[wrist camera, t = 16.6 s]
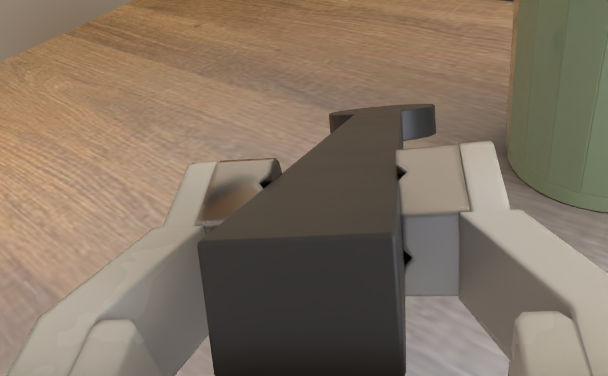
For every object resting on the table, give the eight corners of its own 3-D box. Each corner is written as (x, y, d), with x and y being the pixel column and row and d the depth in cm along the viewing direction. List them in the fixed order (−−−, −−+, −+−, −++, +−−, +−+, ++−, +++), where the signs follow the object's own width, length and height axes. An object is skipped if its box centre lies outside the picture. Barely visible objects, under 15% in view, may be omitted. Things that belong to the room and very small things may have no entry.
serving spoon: (581, 380, 5) (580, 224, 5) (75, 379, 6) (50, 248, 6) (433, 128, 30) (431, 100, 30) (337, 135, 31) (335, 108, 31)
